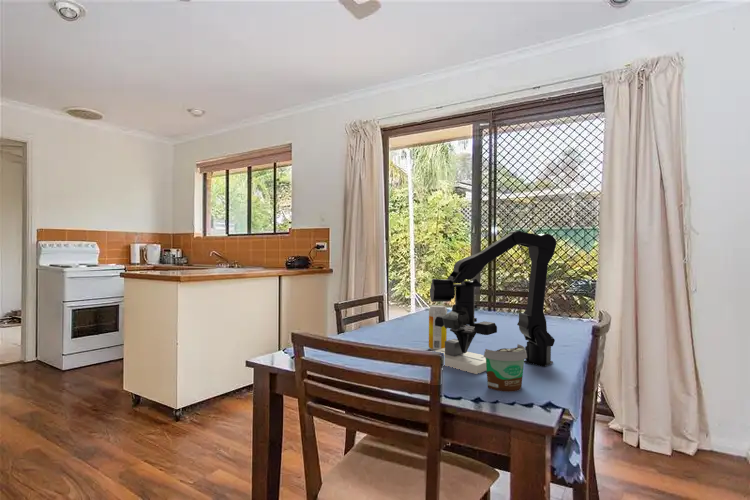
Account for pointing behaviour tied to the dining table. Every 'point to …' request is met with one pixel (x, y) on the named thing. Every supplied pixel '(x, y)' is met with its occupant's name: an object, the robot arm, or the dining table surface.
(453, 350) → the fader cap
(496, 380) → the food container
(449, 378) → the dining table surface
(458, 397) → the dining table surface
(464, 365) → the fader console
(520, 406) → the dining table surface
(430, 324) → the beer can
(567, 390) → the dining table surface
